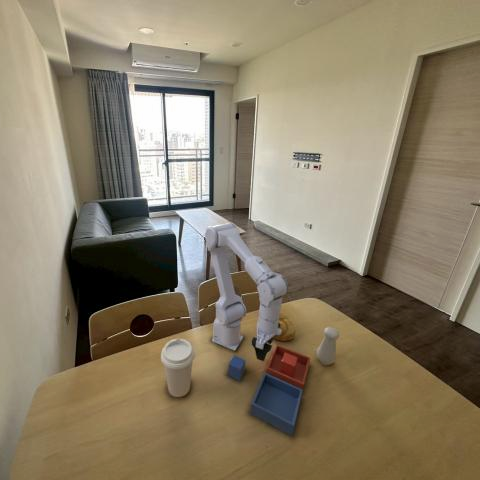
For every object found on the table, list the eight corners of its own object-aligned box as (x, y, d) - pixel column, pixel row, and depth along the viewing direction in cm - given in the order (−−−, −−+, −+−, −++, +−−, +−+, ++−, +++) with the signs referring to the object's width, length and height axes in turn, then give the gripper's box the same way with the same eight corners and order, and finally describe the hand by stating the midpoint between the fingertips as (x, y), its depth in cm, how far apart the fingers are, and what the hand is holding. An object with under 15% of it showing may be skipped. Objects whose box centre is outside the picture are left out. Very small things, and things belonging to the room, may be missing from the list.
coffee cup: (199, 378, 78) (199, 341, 73) (187, 407, 70) (186, 367, 64) (172, 369, 81) (170, 333, 76) (157, 396, 73) (153, 357, 67)
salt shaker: (330, 354, 88) (338, 325, 83) (336, 368, 82) (345, 337, 78) (313, 353, 88) (320, 323, 83) (318, 366, 83) (326, 336, 78)
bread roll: (263, 320, 104) (265, 304, 101) (286, 320, 104) (289, 304, 101) (271, 344, 92) (274, 327, 89) (297, 343, 92) (301, 326, 89)
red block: (279, 372, 80) (281, 361, 78) (283, 363, 83) (285, 352, 82) (292, 378, 78) (294, 366, 76) (295, 368, 82) (297, 357, 80)
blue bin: (250, 413, 69) (251, 403, 67) (263, 381, 78) (264, 372, 76) (292, 436, 64) (294, 426, 62) (300, 399, 73) (302, 389, 71)
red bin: (265, 377, 79) (266, 368, 78) (274, 352, 88) (276, 344, 87) (301, 394, 74) (304, 384, 73) (308, 366, 83) (310, 357, 82)
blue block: (227, 375, 80) (228, 363, 78) (233, 366, 83) (233, 355, 81) (239, 381, 78) (240, 369, 76) (244, 371, 81) (245, 360, 79)
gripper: (276, 335, 64) (270, 373, 70) (288, 305, 76) (283, 340, 81) (250, 326, 67) (246, 363, 73) (266, 298, 79) (261, 332, 84)
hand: (264, 350), depth 77 cm, fingers open, 7 cm apart
